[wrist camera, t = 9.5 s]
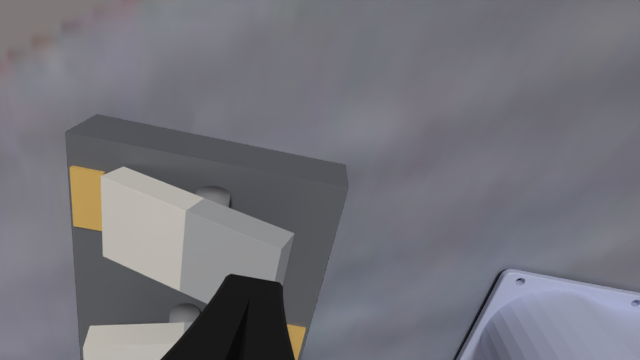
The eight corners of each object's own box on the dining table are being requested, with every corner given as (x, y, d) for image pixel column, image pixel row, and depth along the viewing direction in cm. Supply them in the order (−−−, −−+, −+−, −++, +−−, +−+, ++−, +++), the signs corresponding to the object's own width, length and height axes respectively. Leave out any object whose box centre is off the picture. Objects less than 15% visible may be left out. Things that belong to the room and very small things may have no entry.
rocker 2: (263, 300, 21) (270, 338, 19) (253, 351, 23) (258, 392, 21) (96, 303, 19) (82, 347, 17) (99, 360, 21) (86, 408, 18)
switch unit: (345, 165, 20) (348, 190, 17) (278, 417, 28) (273, 457, 26) (96, 114, 19) (62, 133, 16) (105, 391, 27) (83, 431, 25)
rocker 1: (307, 217, 16) (281, 249, 14) (289, 291, 18) (264, 330, 16) (146, 157, 18) (100, 175, 16) (144, 229, 20) (102, 256, 17)
